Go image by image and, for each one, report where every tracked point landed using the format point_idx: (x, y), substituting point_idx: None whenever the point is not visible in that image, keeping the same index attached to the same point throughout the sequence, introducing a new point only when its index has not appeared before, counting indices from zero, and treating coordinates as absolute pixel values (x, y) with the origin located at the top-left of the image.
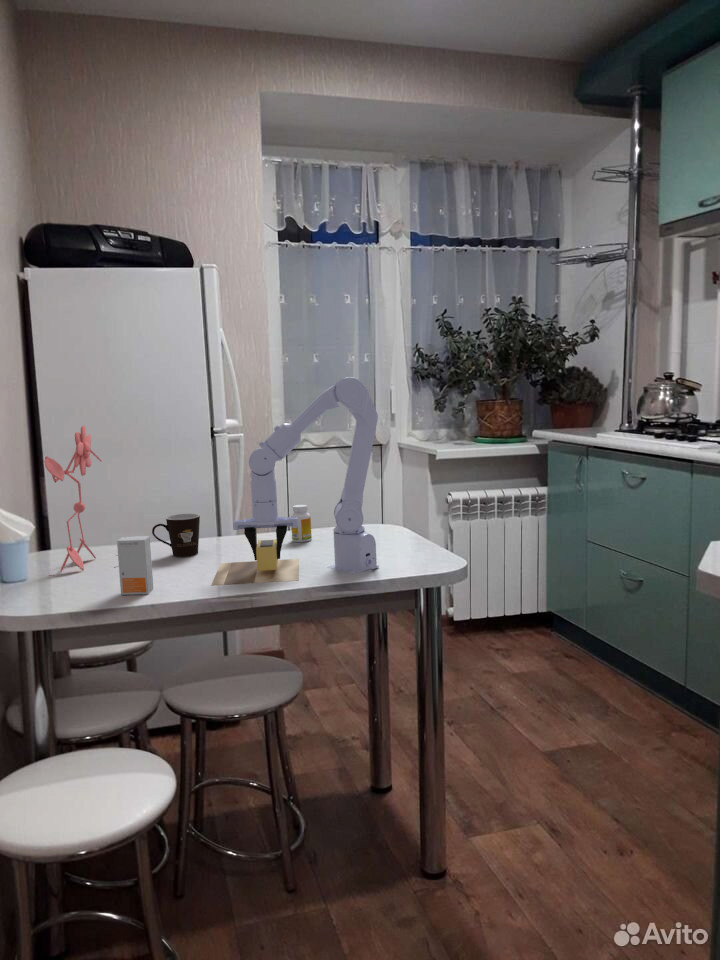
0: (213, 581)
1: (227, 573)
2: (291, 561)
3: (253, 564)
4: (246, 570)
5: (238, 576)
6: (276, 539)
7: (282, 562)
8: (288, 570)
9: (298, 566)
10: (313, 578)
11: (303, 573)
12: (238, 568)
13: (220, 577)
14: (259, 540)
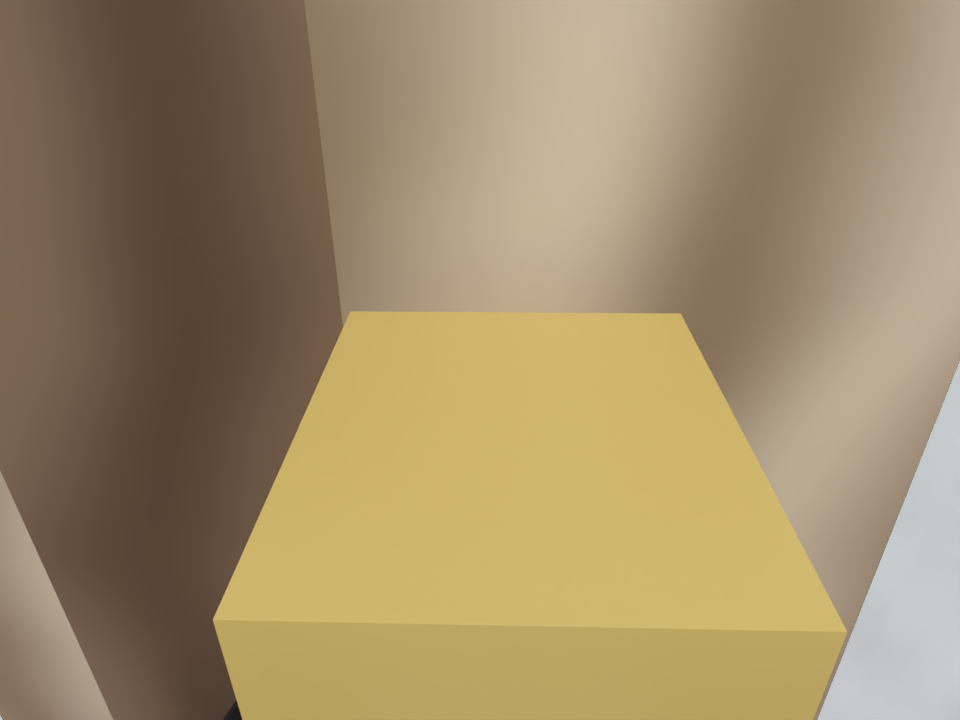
0: (7, 713)
1: (17, 515)
2: (936, 45)
3: (231, 119)
4: (217, 440)
5: (198, 632)
6: (824, 637)
7: (754, 85)
8: None
9: (936, 401)
10: (939, 710)
11: (907, 560)
12: (60, 317)
13: (12, 629)
14: (256, 638)
